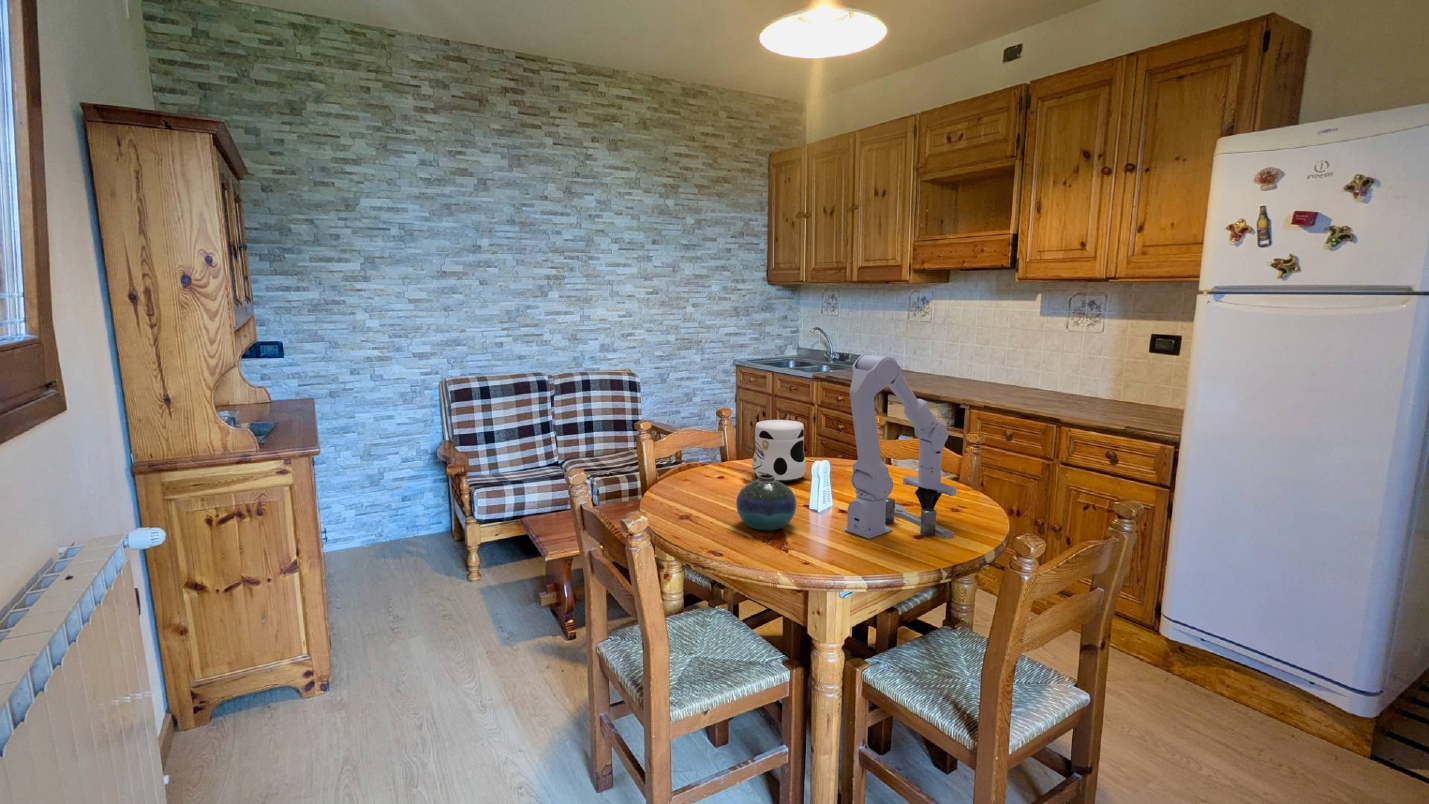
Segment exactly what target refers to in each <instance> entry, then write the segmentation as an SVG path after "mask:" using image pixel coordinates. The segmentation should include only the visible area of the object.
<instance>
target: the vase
mask: <svg viewBox="0 0 1429 804" xmlns="http://www.w3.org/2000/svg"><path fill="white" fill-rule="evenodd" d="M735 503H736V504H735V505H736V506H735V508H736V511H737V515H738V517H739V518H740V520H741V521H742V522H743V523H744V524H745V525H747V526H748V527H750V528H752V529H754V530H759V531H765V532H766V531H776V530H777V531H778V530H780V529H782V528H785V527H786V526H787V525H788V524H790V523H791V521H792V520H793V518H794V517H795V514H796V511H797V505H798V503H797V499H796V495H795V493H794V492H793V490H792V489H791V488H790V487H789V486H787V485H786V484H784V482H779V481H777V480H775V477H774V476H773V475H770V474H762V475H759V477H757V479H756V480H753V481H751V482H749V483H748V484H747V485H744V486H743V487H742V488H741V489H740V491H739V492H738V494H737V496H736V502H735Z"/></svg>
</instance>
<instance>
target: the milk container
mask: <svg viewBox="0 0 1429 804" xmlns="http://www.w3.org/2000/svg"><path fill="white" fill-rule="evenodd" d="M754 432H755V434H754V435H755V436H754V439H755V440H754V442H755V444H754V445H755V446H754V447H755V450H754V454H753V457H752V462H751V463H752V472H753V474H754V475H755V477H756V478H758V477H759V475H762V474H770V475H773V476H774V477H775V480H777V481H779V482H781V483H790V482H794V481H798V480H800V479H802V478H803V477H804V476H805V474H806V471H807V460H806V455H805V450H804V449H805V448H804V447H805V446H804V445H805V436H804V434H805V428H804V423H802V422H801V421H795V420H789V419H768V420H761V421H758V422H756V424H755V431H754Z"/></svg>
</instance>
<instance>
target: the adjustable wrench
mask: <svg viewBox="0 0 1429 804" xmlns="http://www.w3.org/2000/svg"><path fill="white" fill-rule="evenodd" d="M894 517H895V518H896V517H897V518H900V519H903V520H906V521H908V522H910V523H912V524H913V525H917V526H918V527H920V524H921V516H920V517H919V516H917V515H915V514H913V513H910V512H909V511H907V509H905V506H903V505H901V504H897V503H895V516H894ZM935 533H936V534H935V535H938V536H940V537H943V538H944V539H953V538H954V532H953V531H951V530H950V529H947V528H944V527H942V526H940V525H938V524H936V531H935Z"/></svg>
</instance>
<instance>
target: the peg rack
mask: <svg viewBox="0 0 1429 804" xmlns="http://www.w3.org/2000/svg"><path fill="white" fill-rule="evenodd" d="M895 504H896V499H895V498H892V497H888V499H886V514H885V525H893V524H895V517H896V516H895ZM920 518H921V524H920V526H919V535H920V536H922V537H926V538H931V537H933V538H934V537H935V536H936V534H935V531H936V525H937V510H935V509H934V510H933V509H922V508H921V509H920Z"/></svg>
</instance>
